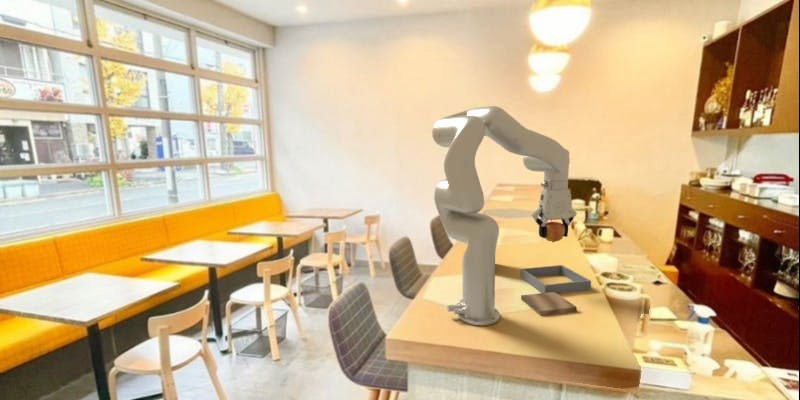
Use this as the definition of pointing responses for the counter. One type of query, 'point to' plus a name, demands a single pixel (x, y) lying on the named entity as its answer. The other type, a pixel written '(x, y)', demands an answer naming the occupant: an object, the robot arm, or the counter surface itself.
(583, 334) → the counter surface
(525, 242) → the counter surface
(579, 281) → the bin
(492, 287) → the robot arm
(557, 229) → the apple
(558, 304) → the board
